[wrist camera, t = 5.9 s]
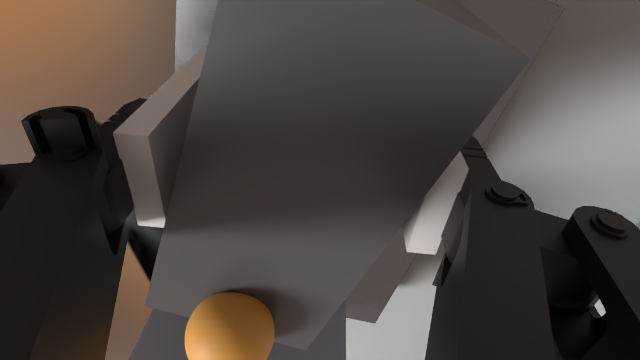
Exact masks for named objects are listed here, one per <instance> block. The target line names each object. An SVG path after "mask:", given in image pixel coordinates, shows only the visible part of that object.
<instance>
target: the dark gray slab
mask: <svg viewBox="0 0 640 360" xmlns="http://www.w3.org/2000/svg"><path fill="white" fill-rule="evenodd" d="M530 60H531V58H529V57H528V56H527V55H526V54H524V53H523V52H522V51H520V50H519V49H518V48H517V47H515V46H514V45H513V44H511V43H510V42H509V41H508V40H506V39H505V38H504V37H502V36H501V35H500V34H499V33H497V32H496V31H495V30H493V29H492V28H491V27H490V26H488V25H487V24H486V23H484V22H483V21H482V20H481V19H479V18H478V17H477V16H475V15H474V14H473V13H472V12H470V11H469V10H468V9H466V8H465V7H464V6H463V5H461V4H460V3H459V2H457V1H456V0H218V3H217V8H216V12H215V16H214V20H213V24H212V28H211V33H210V37H209V41H208V45H207V49H206V53H205V58H204V62H203V66H202V70H201V74H200V79H199V83H198V87H197V91H196V95H195V99H194V104H193V108H192V112H191V116H190V120H189V124H188V129H187V133H186V137H185V141H184V145H183V149H182V154H181V158H180V162H179V166H178V170H177V175H176V179H175V183H174V187H173V191H172V195H171V200H170V204H169V208H168V212H167V216H166V220H165V225H164V229H163V233H162V237H161V241H160V246H159V250H158V254H157V258H156V262H155V266H154V271H153V275H152V279H151V283H150V287H149V291H148V296H147V300H146V304H145V306H148V307H152V308H155V309H159V310H163V311H166V312H170V313H173V314H177V315H180V316H184V317H188V318H190V319H189V321H188V323H187V327H186V331H185V350H186V354H187V357H188V359H189V360H267V358H268V356H269V354H270V352H271V349H272V346H273V342H277V343H280V344H284V345H288V346H291V347H295V348H298V349H302V350H307V348H308V347H309V346H310V344H311V343H312V342H313V341H314V339H315V338H316V337H317V335H318V334H319V333H320V332H321V330H322V329H323V328H324V326H325V325H326V324H327V322H328V321H329V320H330V319H331V317H332V316H333V315H334V313H335V312H336V311H337V309H338V308H339V307H340V306H341V304H342V303H343V302H344V300H345V299H346V298H347V297H348V295H349V294H350V293H351V291H352V290H353V289H354V287H355V286H356V285H357V284H358V282H359V281H360V280H361V278H362V277H363V276H364V275H365V273H366V272H367V271H368V269H369V268H370V267H371V265H372V264H373V263H374V262H375V260H376V259H377V258H378V256H379V255H380V254H381V253H382V251H383V250H384V249H385V247H386V246H387V245H388V243H389V242H390V241H391V240H392V238H393V237H394V236H395V234H396V233H397V232H398V230H399V229H400V228H401V227H402V225H403V224H404V223H405V221H406V220H407V219H408V218H409V216H410V215H411V214H412V212H413V211H414V210H415V208H416V207H417V206H418V205H419V203H420V202H421V201H422V199H423V198H424V197H425V196H426V194H427V193H428V192H429V190H430V189H431V188H432V186H433V185H434V184H435V183H436V181H437V180H438V179H439V177H440V176H441V175H442V174H443V172H444V171H445V170H446V168H447V167H448V166H449V164H450V163H451V162H452V161H453V159H454V158H455V157H456V155H457V154H458V153H459V151H460V150H461V149H462V148H463V146H464V145H465V144H466V142H467V141H468V140H469V139H470V137H471V136H472V135H473V133H474V132H475V131H476V129H477V128H478V127H479V126H480V124H481V123H482V122H483V120H484V119H485V118H486V117H487V115H488V114H489V113H490V111H491V110H492V109H493V107H494V106H495V105H496V104H497V102H498V101H499V100H500V98H501V97H502V96H503V94H504V93H505V92H506V91H507V89H508V88H509V87H510V85H511V84H512V83H513V82H514V80H515V79H516V78H517V76H518V75H519V74H520V72H521V71H522V70H523V69H524V67H525V66H526V65H527V63H528V62H529V61H530Z"/></svg>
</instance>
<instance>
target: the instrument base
mask: <svg viewBox="0 0 640 360" xmlns="http://www.w3.org/2000/svg"><path fill="white" fill-rule="evenodd" d="M456 1H457V2H459V3H460V4H461V5H463V6H464V7H465V8H466V9H468V10H469V11H470V12H472V13H473V14H474V15H475V16H477V17H478V18H479V19H481V20H482V21H483V22H484V23H486V24H487V25H488V26H490V27H491V28H492V29H493V30H495V31H496V32H497V33H499V34H500V35H501V36H502V37H504V38H505V39H506V40H508V41H509V42H510V43H511V44H513V45H514V46H515V47H517V48H518V49H519V50H520V51H522V52H523V53H524V54H526V55H527V56H528V57H529V58H531V60H530V61H529V62H528V63H527V65H526V66H525V67H524V69H523V70H522V71H521V72H520V74H519V75H518V76H517V78H516V79H515V80H514V82H513V83H512V84H511V85H510V87H509V88H508V89H507V91H506V92H505V93H504V94H503V96H502V97H501V98H500V100H499V101H498V102H497V104H496V105H495V106H494V107H493V109H492V110H491V111H490V113H489V114H488V115H487V117H486V118H485V119H484V120H483V122H482V123H481V124H480V126H479V127H478V128H477V129H476V131H475V132H474V133H473V135H472V136H474V137H475V138H476V139H477V140H478V141H479V143H480V145H481V146H482V145H483V143H484V141H485V140H486V138H487V136H488V135H489V133H490V131H491V130H492V128H493V126H494V125H495V123H496V121H497V120H498V118H499V116H500V115H501V113H502V111H503V110H504V108H505V106H506V105H507V103H508V102H509V100H510V98H511V97H512V95H513V93H514V92H515V90H516V88H517V87H518V85H519V83H520V82H521V80H522V78H523V77H524V75H525V73H526V72H527V70H528V68H529V67H530V65H531V63H532V62H533V60H534V58H535V57H536V55H537V53H538V52H539V50H540V48H541V47H542V45H543V43H544V42H545V40H546V38H547V37H548V35H549V33H550V32H551V30H552V28H553V27H554V25H555V23H556V22H557V20H558V18H559V17H560V15H561V13H562V12H563V10H564V9H565V8H563V7H561V6H559V5H556V4H554V3H552V2H549V1H547V0H456ZM217 3H218V0H177V2H176V6H177V7H176V41H175V42H176V44H175V73H176V72H177V71H178V70H179V69H180V68H181V67H182V66H183V65H184V64H185V63H186V62H187V61H189V60H190V59H191V58H192V57H193V56H194V55H195V54H196V53H197V52H198V51H199V50H200V49H201V48H202V47H203V46H204V45H208V41H209V37H210V33H211V28H212V24H213V20H214V16H215V12H216V8H217ZM416 254H417V253H412V252H407V251H406V246H405V240H404V235H403V229H402V227H401V228H400V229H399V230H398V232H397V233H396V234H395V236H394V237H393V238H392V240H391V241H390V242H389V243H388V245H387V246H386V247H385V249H384V250H383V251H382V253H381V254H380V255H379V256H378V258H377V259H376V260H375V262H374V263H373V264H372V265H371V267H370V268H369V269H368V271H367V272H366V273H365V275H364V276H363V277H362V278H361V280H360V281H359V282H358V284H357V285H356V286H355V287H354V289H353V290H352V291H351V293H350V294H349V295H348V297H347V298H346V299H345V300H344V302H343V303H342V304H341V306H340V307H339V308H338V309H337V311H336V312H335V313H334V315H333V316H332V317H331V319H330V320H329V321H328V322H327V324H326V325H325V326H324V328H323V329H322V330H321V332H320V333H319V334H318V335H317V337H316V338H315V339H314V341H313V342H312V343H311V344H310V346H309V347H308V348H307V350H302V349H298V348H295V347H291V346H288V345H284V344H280V343H277V342H273V346H272V349H271V352H270V354H269V356H268V358H267V360H346V318H351V319H356V320H361V321H366V322H371V323H375V322H376V321H377V319H378V317H379V316H380V314H381V312H382V311H383V309H384V307H385V306H386V304H387V302H388V301H389V299H390V297H391V296H392V294H393V292H394V291H395V289H396V288H397V286H398V284H399V283H400V281H401V279H402V278H403V276H404V274H405V273H406V271H407V269H408V268H409V266H410V264H411V263H412V261H413V259H414V258H415V256H416ZM189 319H190V318H188V317H184V316H180V315H177V314H173V313H170V312H166V311H163V310H159V309H155V308H153V310H152V312H151V314H150V316H149V318H148V320H147V323H146V325H145V327H144V329H143V331H142V333H141V335H140V337H139V339H138V341H137V343H136V345H135V347H134V349H133V352H132V354H131V356H130V358H129V360H189V359H188V357H187V354H186V350H185V331H186V327H187V323H188V321H189Z"/></svg>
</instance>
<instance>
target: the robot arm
mask: <svg viewBox="0 0 640 360" xmlns="http://www.w3.org/2000/svg"><path fill="white" fill-rule="evenodd" d="M206 49H207V45H204V46H203V47H202V48H201V49H200V50H199V51H198V52H197V53H196V54H195V55H194V56H193V57H192V58H191V59H190V60H189V61H187V62H186V63H185V64H184V65H183V66H182V67H181V68H180V69H179V70H178V71H177V72H176V73H175V74H174V75H173V76H172V77H171V78H170V79H169V80H168V81H167V82H165V83H164V84H163V85H162V86H161V87H160V88H159V89H158V90H157V91H156V92H155V93H154V94H153V95H152V96H151V97H150V98H149V99H142V98H139V99H137V100H135V101H132V102H130V103H128V104H125V105H124V106H123V107H121V108H120V109H119V110H118V111H117V112H116V113H115V115H112V116H111V117H110V118H109V119H108V120H107V122H104V123H103V124H102V125H101V126H100V127H99V128H97V124H96V121H95V118H94V114H93V113H92V112H91V111H90V110H89V109H86V108H83V107H78V106H60V107H52V108H48V109H43V110H39V111H37V112H35V113H33V114H30V115H28V116H27V117H25V118H24V119H23V120H22V121H21V122H22V125H23V127H24V129H25V131H26V134H27V136H28V138H29V141H30V143H31V145H32V148H33V150H34V152H35V157H34V159H33V161H32V162H30V163H18V164H5V165H0V360H104V359H105V354H106V349H107V343H108V339H109V333H110V328H111V323H112V318H113V312H114V307H115V302H116V297H117V292H118V287H119V282H120V276H121V271H122V266H123V261H124V255H125V250H126V245H127V240H128V235H129V234H128V227H127V224H126V221H125V220H126V218H127V217H128V216H129V214H130V213H131V211H132V210H133V208H134V212H135V215H136V219H137V223H138V225H142V226H152V227H162V228H164V225H165V220H166V216H167V212H168V208H169V204H170V200H171V195H172V191H173V187H174V183H175V179H176V175H177V170H178V166H179V162H180V158H181V154H182V149H183V145H184V141H185V137H186V133H187V129H188V124H189V120H190V116H191V112H192V108H193V104H194V99H195V95H196V91H197V87H198V83H199V79H200V74H201V70H202V66H203V62H204V58H205V53H206ZM402 229H403V235H404V240H405V246H406V251H407V252H412V253H422V254H432V255H436V252H437V250H438V247H439V244H440V242H441V239H442V241H443V245H444V248H445V251H446V252H445V255H444V257H443V260H442V262H441V265H440V267H439V269H438V272H437V274H436V277H435V279H434V282H433V284H432V285H434V286H437V288H436V294H435V301H434V307H433V313H432V319H431V325H430V332H429V338H428V344H427V350H426V356H425V360H640V229H639V228H638V227H636V226H635V225H634V224H633V223H632V222H630V221H629V220H627V219H626V218H624V217H623V216H622V215H620V214H618V213H616V212H613V211H611V210H608V209H603V208H599V207H595V206H582V207H579V208H577V209H576V210H575V211H574V213H573V214H572V216H571V218H570V219H569V220H567V219H563V218H560V217H557V216H553V215H550V214H546V213H543V212H540V211H537V210H535V209H534V204H533V202H532V199H531V198H530V197H529V196H528V195H527V194H526V193H525V192H524V191H523V190H521V189H520V188H518V187H516V186H515V185H513V184H510V183H507V182H504V181H501V179H500V178H499V176H498V174H497V172H496V171H495V169H494V167H493V166H492V164H491V162H490V160H489V159H487V155H486V153H485V152H484V151H483V148H482V147H481V145H480V143H479V141H478V140H477V139H476V138H475V137H474V136H471V137H470V139H469V140H468V141H467V142H466V144H465V145H464V146H463V148H462V149H461V150H460V151H459V153H458V154H457V155H456V157H455V158H454V159H453V161H452V162H451V163H450V164H449V166H448V167H447V168H446V170H445V171H444V172H443V174H442V175H441V176H440V177H439V179H438V180H437V181H436V183H435V184H434V185H433V186H432V188H431V189H430V190H429V192H428V193H427V194H426V196H425V197H424V198H423V199H422V201H421V202H420V203H419V205H418V206H417V207H416V208H415V210H414V211H413V212H412V214H411V215H410V216H409V218H408V219H407V220H406V221H405V223H404V224H403V225H402ZM599 299H600V301H601V302H602V304H603V306H604V308H605V311H606V313H605V314H604V315H603V316H602V317H601V316H600V314H599V313H598V312H597V310H596V308H595V306H594V305H595V303H596V302H597V301H598V300H599Z"/></svg>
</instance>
